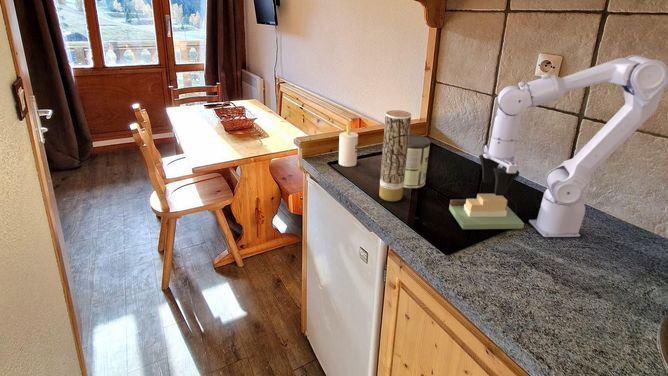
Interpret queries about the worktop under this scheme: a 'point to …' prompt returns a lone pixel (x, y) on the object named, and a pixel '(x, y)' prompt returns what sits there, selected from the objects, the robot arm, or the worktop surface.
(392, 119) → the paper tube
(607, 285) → the worktop surface
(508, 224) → the green board
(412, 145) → the coffee can
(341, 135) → the candle
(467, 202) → the wooden step block
